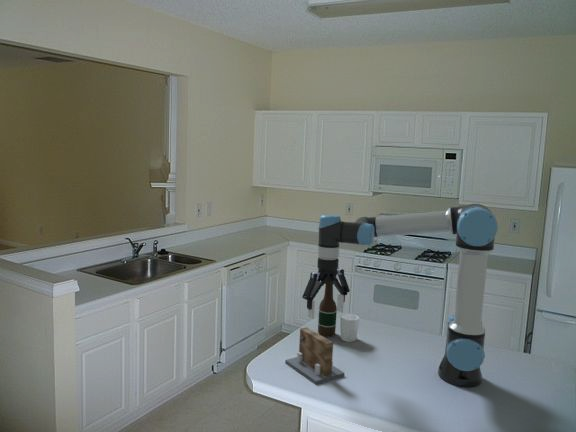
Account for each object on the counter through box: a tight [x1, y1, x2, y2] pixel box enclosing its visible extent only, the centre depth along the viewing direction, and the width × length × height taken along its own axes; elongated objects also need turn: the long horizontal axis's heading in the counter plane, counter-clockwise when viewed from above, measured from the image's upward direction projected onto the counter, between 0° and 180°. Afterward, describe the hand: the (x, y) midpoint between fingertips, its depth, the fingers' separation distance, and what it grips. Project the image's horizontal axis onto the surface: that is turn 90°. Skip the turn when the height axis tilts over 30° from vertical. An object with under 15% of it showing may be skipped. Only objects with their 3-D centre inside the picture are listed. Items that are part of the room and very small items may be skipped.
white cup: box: [340, 313, 360, 343], centre depth 211 cm, size 8×8×10 cm
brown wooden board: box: [298, 326, 334, 376], centre depth 180 cm, size 16×4×12 cm, turn 34°
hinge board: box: [285, 351, 345, 385], centre depth 181 cm, size 19×13×5 cm
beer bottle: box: [317, 283, 338, 338], centre depth 214 cm, size 8×8×24 cm
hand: (325, 314), depth 179 cm, fingers open, 13 cm apart
